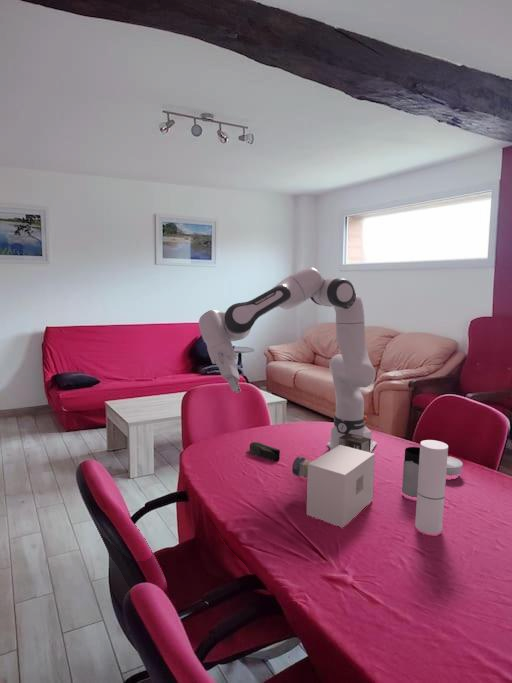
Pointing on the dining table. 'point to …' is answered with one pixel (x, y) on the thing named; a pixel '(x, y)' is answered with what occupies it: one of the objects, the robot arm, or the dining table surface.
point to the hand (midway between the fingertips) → (236, 391)
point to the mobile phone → (264, 451)
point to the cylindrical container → (431, 486)
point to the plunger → (300, 467)
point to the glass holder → (411, 471)
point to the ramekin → (453, 466)
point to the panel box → (340, 484)
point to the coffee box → (355, 442)
